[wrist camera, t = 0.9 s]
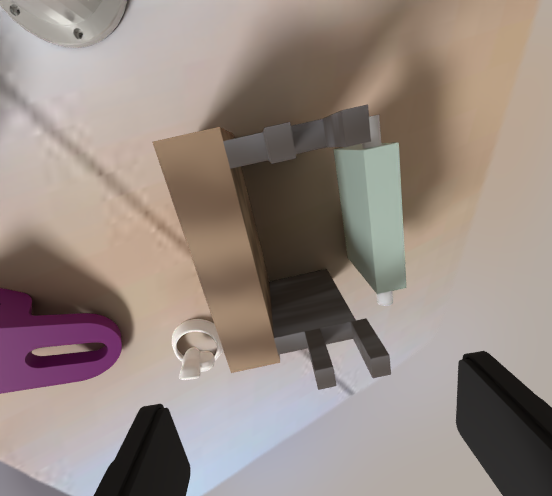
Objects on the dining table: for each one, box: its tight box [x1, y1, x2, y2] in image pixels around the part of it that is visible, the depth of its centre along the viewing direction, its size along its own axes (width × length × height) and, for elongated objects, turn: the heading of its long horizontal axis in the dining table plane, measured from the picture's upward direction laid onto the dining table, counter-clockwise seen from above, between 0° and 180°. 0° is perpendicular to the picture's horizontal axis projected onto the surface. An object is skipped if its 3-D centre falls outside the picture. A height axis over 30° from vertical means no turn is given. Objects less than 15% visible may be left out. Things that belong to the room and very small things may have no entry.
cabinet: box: [153, 105, 391, 390], centre depth 27 cm, size 22×14×17 cm, turn 12°
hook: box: [172, 319, 223, 380], centre depth 37 cm, size 8×12×7 cm
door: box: [334, 115, 406, 306], centre depth 31 cm, size 19×4×10 cm, turn 12°
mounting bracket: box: [0, 288, 122, 394], centre depth 37 cm, size 9×8×18 cm
